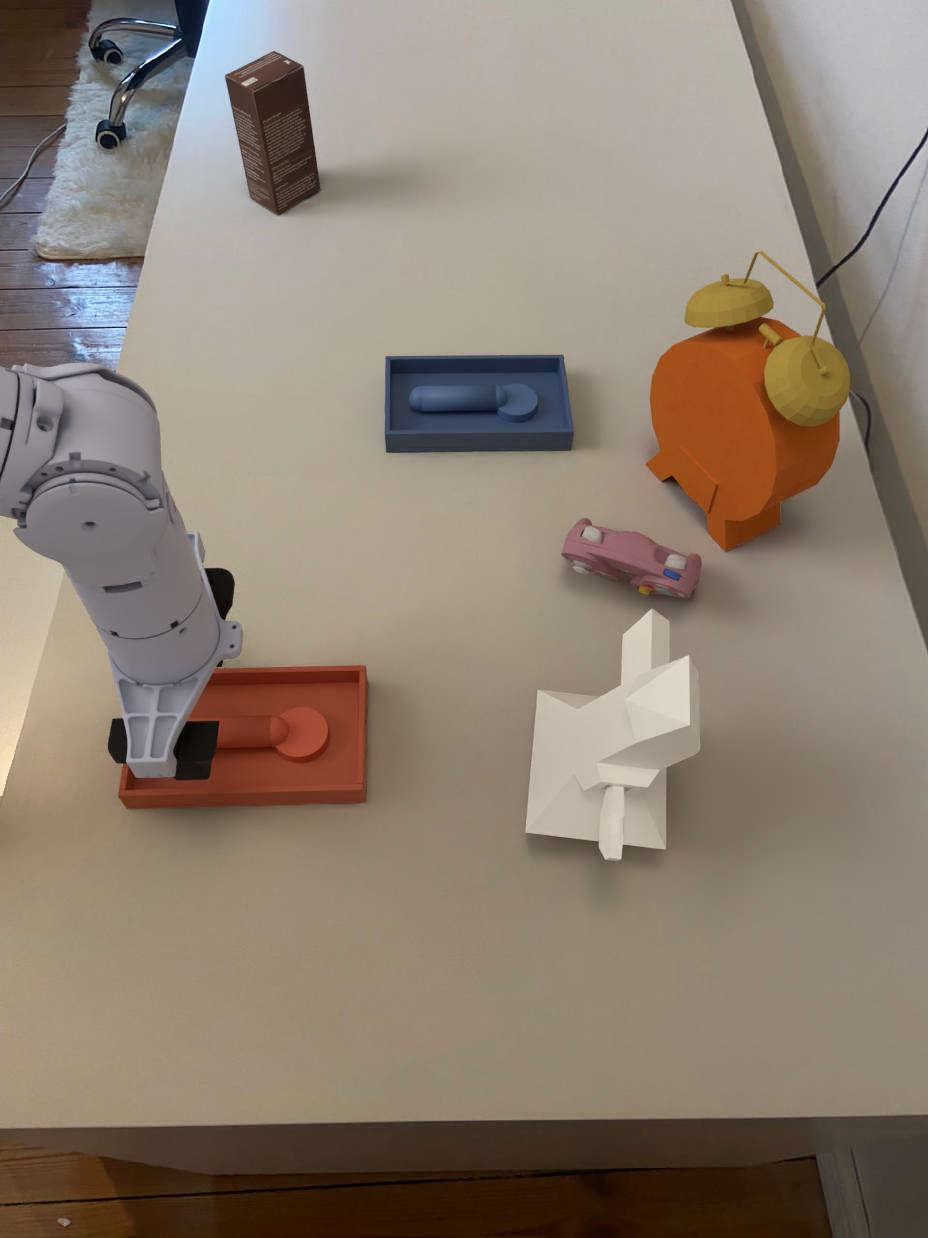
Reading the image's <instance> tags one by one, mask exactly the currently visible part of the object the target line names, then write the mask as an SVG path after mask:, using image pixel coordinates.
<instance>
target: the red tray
mask: <svg viewBox="0 0 928 1238" xmlns="http://www.w3.org/2000/svg"><path fill="white" fill-rule="evenodd" d="M367 672H368V671H367V665H366V664H360V665H359V664H358V665H353V664H352V665H313V666H311V665H309V666H307V665H306V666H305V665H304V666H264V667H263V666H262V667H261V666H260V667H258V666H257V667H216V668H215V670H214V672H213V673H212V675H211V677H210V679H209V681H208V683H207V685H206V686H205V688H204V690H203V692H202V694H201V696H200V697H199V699H198V701H197V703H196V705H195V707H194V709H193V710H192V712H191V714H190V716H189V717H223V716H267V715H274V716H280V715H281V714H283V713H284V712H286V711H287V710H289V709H292V708H295V707H309V708H313V709H315V710H317V711H318V712H320V713H321V714H322V715H323V716H324V718H325V719H326V721H327V724H328V728H329V734H330V737H329V742H328V745H327V747H326V749H325V750H324V751H323V752H322V753H321V754H320V755H319V756H318V757H316V758H315V759H313V760H310V761H307V762H292V761H289V760H286V759H285V758H283V757H282V756H281V755H280V754H279V753H278V752H277V750H276V748H275V747H248V748H216V751H215V754H214V757H213V760H212V764H211V773H210V777H209V779H207V780H175V779H174V778H172V777H162V778H136V777H135V775H134V774H133V772H132V770H131V769H130V767H129V766H128V764H122V767H121V768H122V769H121V772H120V773H121V774H120V779H119V785H118V791H117V798H119V800H120V802H121V803H122V804H123V805H124V807H125V808H126V809H127V810H135V809H136V810H138V809H172V808H173V809H174V808H209V807H215V808H216V807H249V806H251V807H252V806H283V805H285V806H286V805H287V806H289V805H320V804H323V805H326V804H356V803H358V804H359V803H361V804H362V803H366V791H367V787H366V786H367V785H366V784H367V741H368V739H367V738H368V737H367V736H368V735H367V734H368V733H367V732H368V731H367V730H368V690H369V689H368V688H369V687H368V685H369V684H368V682H369V681H368V673H367Z"/></svg>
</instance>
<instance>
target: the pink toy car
mask: <svg viewBox="0 0 928 1238" xmlns="http://www.w3.org/2000/svg"><path fill="white" fill-rule="evenodd" d="M560 554H561V557H562V558H564V559H566V560H568V561H569V562H571V563H574V566H573V565H572V569H573V570H574V572H575V573H578V574H580V575H589V574H590V573H592V574H595V575H596V576H598V577H601V578H605V579H608V580H614V581H617V580H618V578H619V577H620V574H621V572H626V573H628V574H631V575H632V577H631V580H630V586H632V587H634V588H635V589H637V590H638V592H639V593H640V594H642V595H644V596H648V595H650V594H654V595H664V596H669V597H675V598H679V599H690V598H691V595H692V592H693V591H694V590H695V588H696V587H697V586H698V585H699V583H700V581H701V574H702V573H701V571H702V565H703V564H702V557H701V555H700V554H698V553H695V552H694V553H693V552H692V553H690V554H688V555H685V554H683V553H681V552H678V551H676V550H674V549H671V548H669V547H666V546H663V545H661V544H659V543H657V542H655V540H653V539H652V538H650V537H648V536H647V535H645V534H643V533H642V532H641V533H640V532H637V531H629V530H614V529H610V528H607V527H603V526H597V525H593V523H592V521H591V520H590V518H587V517H582V518H580V519H579V520H578V521H577V522H576V523H575V524H574V525H573V526H572V527H571V529H570V530H569V531H568V533H567V534H566V537H565V540H564V543H563V546H562V549H561V553H560Z"/></svg>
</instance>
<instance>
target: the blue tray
mask: <svg viewBox="0 0 928 1238" xmlns="http://www.w3.org/2000/svg"><path fill="white" fill-rule="evenodd" d="M384 359H385V361H384V362H385V363H384V365H385V367H384V369H385V372H384V374H385V375H384V376H385V377H384V385H385V386H384V443H385V452H386V453H431V452H433V453H437V452H439V453H440V452H441V453H442V452H510V451H511V452H512V451H513V452H515V451H516V452H521V451H524V452H525V451H527V452H528V451H571V450H572V446H573V441H574V436H575V435H574V434H575V429H574V423H573V422H574V420H573V414H572V408H571V407H572V406H571V399H570V393H569V392H570V391H569V386H568V385H569V384H568V377H567V370H566V363H565V356H564V354H469V355H468V354H465V355H464V354H462V355H456V354H455V355H454V354H453V355H385V357H384ZM508 384H522V385H526V386H528V387H530V388H531V389H533V390H534V391H535V393H536V394H537V396H538V408H537V412H536V414H535V415H534V416H533V417H532V418H531V419H529V420H527V421H523V422H510V421H507V420H504V419H502V418H501V417H500V416H498V415H497V413H496V412H495V411H417V410H415V409H414V408H413V407H412V406H411V405H410V402H409V395H410V393H411V391H412V390H413V389H414V388H416V387H418V386H481V385H497V386H501V387H503V386H505V385H508Z"/></svg>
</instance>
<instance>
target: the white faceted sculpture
mask: <svg viewBox="0 0 928 1238" xmlns="http://www.w3.org/2000/svg"><path fill="white" fill-rule="evenodd" d="M670 625H671V621H670V620H669V619H667V618H666V617H665V616H663V614H660V613H659V612H658V611H656V610H655V609H653V608H651V609H650V610H648V611H647V612H646V613H645V614H644V615H643V616H642V617H640V619H638V621H636V622H635V623H634V624H633V625H632V626H631V627H629V629H627V631H625V632H624V633H623V634H622V638H621V639H622V642H621V643H622V644H621V669H620V671H621V673H620V677H621V678H620V685H618V686H616V687H614V688H613V689H611V690H609V691H607V692H606V693H603V694H602V695H601V696H597V695H589V694H582V693H581V694H580V693H571V692H562V691H555V690H545V689H537V694H536V706H535V717H534V726H533V727H534V728H533V739H532V750H531V763H530V771H529V772H530V774H529V785H528V796H527V797H528V798H527V807H526V820H525V834H526V833H527V834H534V835H543V836H551V837H558V838H568V839H574V840H583V841H590V842H591V841H592V842H593V841H594V842H598V849H599V851H600V853H601V854H602V857H603V858H604V860H607V861H612V862H613V861H614V862H618V861H620V860H622V855H623V846H631V847H633V846H634V847H642V848H649V849H658V850H667V768H668V767H671V766H673V765H675V764H677V763H680V762H682V761H684V760H686V759H688V758H691V757H693V756H695V755H696V754H698V752H700V751H701V713H700V712H701V708H700V707H701V706H700V700H701V699H700V674H699V673H698V670H697V668H696V666H695V664H694V661H693V660H692V658H691V656H690V654H688V655H685V656H683V657H680V658H678V659H674V660H673V661H671V659H670V658H671V657H670V655H671V654H670V651H671V649H670V647H671V646H670V642H671V641H670V640H671V639H670V638H671V637H670V636H671V635H670V634H671V633H670V632H671V631H670V630H671V629H670Z"/></svg>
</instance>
